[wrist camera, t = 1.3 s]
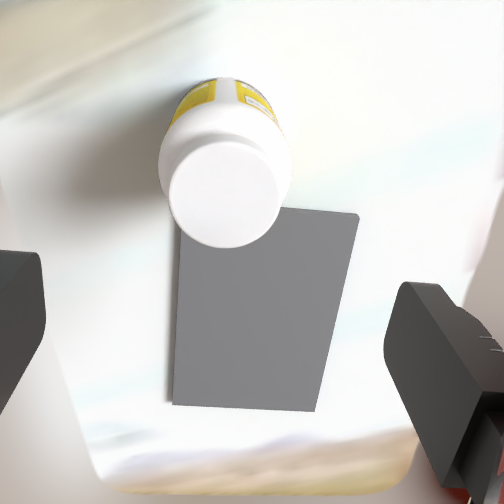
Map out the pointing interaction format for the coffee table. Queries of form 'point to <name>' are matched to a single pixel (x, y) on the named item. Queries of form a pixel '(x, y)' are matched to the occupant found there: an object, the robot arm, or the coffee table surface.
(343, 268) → the rubber mat
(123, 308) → the coffee table surface
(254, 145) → the supplement bottle
